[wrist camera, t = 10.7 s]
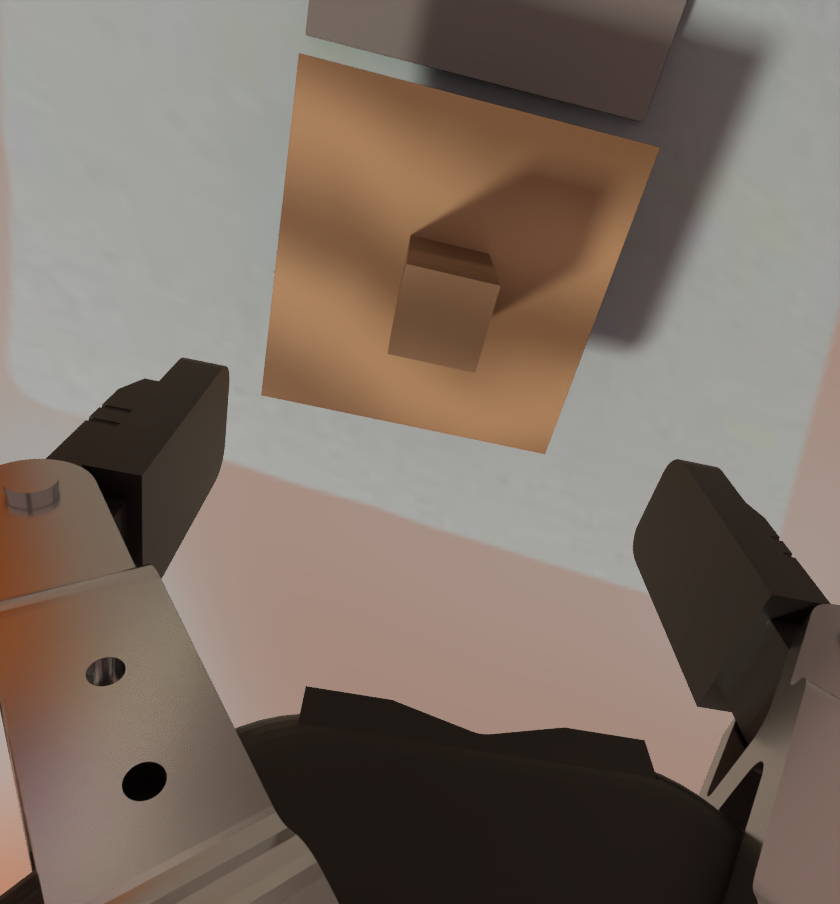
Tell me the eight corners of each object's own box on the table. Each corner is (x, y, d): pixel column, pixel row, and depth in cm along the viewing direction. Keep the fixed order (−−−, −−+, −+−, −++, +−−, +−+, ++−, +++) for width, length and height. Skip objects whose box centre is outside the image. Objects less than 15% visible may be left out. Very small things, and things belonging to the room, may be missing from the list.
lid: (303, 54, 21) (267, 44, 17) (652, 145, 22) (710, 159, 18) (265, 387, 27) (232, 447, 23) (542, 445, 28) (563, 513, 24)
